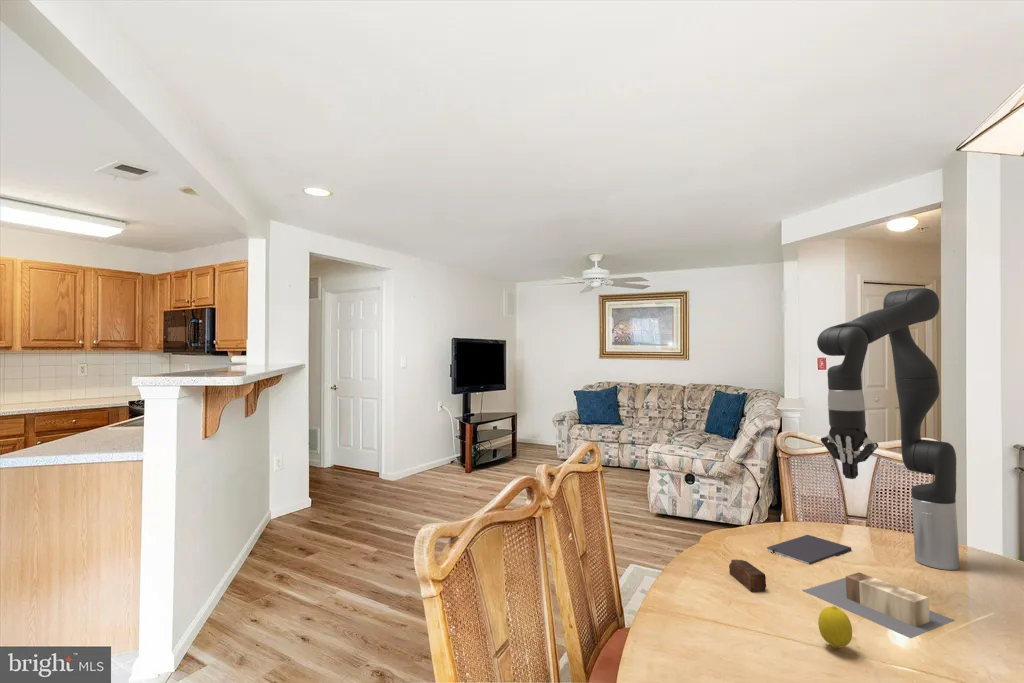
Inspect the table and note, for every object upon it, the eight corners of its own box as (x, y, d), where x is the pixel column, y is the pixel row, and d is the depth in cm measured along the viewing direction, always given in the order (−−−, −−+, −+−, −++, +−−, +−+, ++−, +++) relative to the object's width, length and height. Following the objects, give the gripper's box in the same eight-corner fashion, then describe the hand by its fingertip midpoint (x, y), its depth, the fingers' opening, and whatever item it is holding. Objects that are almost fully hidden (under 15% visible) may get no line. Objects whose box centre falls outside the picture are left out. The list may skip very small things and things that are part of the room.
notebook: (809, 568, 134) (851, 552, 144) (809, 562, 134) (851, 547, 144) (765, 552, 145) (807, 539, 156) (765, 547, 145) (807, 534, 156)
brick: (767, 593, 119) (766, 574, 119) (751, 594, 119) (750, 574, 119) (743, 575, 130) (743, 557, 130) (729, 575, 129) (728, 557, 130)
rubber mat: (844, 579, 126) (844, 577, 126) (955, 621, 105) (955, 620, 105) (802, 592, 119) (802, 590, 119) (910, 640, 98) (910, 638, 98)
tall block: (859, 572, 117) (928, 597, 104) (860, 593, 117) (929, 621, 104) (845, 576, 115) (914, 602, 102) (846, 598, 115) (915, 627, 102)
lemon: (812, 641, 98) (811, 600, 99) (838, 639, 99) (837, 598, 99) (833, 657, 93) (831, 614, 93) (860, 655, 93) (858, 612, 94)
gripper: (884, 408, 118) (889, 481, 117) (829, 404, 130) (833, 471, 129) (865, 411, 115) (870, 486, 114) (810, 407, 127) (814, 475, 126)
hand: (850, 478), depth 122 cm, fingers closed
